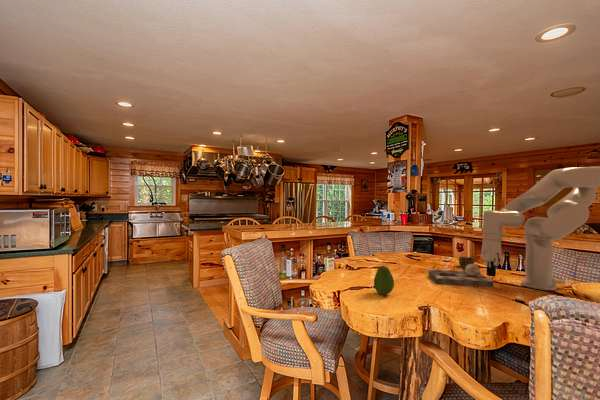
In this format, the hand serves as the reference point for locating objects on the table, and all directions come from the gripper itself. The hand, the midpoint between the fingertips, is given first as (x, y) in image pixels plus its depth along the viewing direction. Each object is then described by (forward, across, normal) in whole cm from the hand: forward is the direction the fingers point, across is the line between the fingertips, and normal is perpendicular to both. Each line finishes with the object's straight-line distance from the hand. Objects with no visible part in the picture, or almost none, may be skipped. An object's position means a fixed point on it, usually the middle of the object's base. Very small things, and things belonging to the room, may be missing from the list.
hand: (491, 275), depth 136 cm
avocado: (+4, +26, -52) cm, 58 cm away
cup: (+4, -19, -4) cm, 20 cm away
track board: (+4, -1, -14) cm, 14 cm away
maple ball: (-2, -1, -8) cm, 8 cm away
